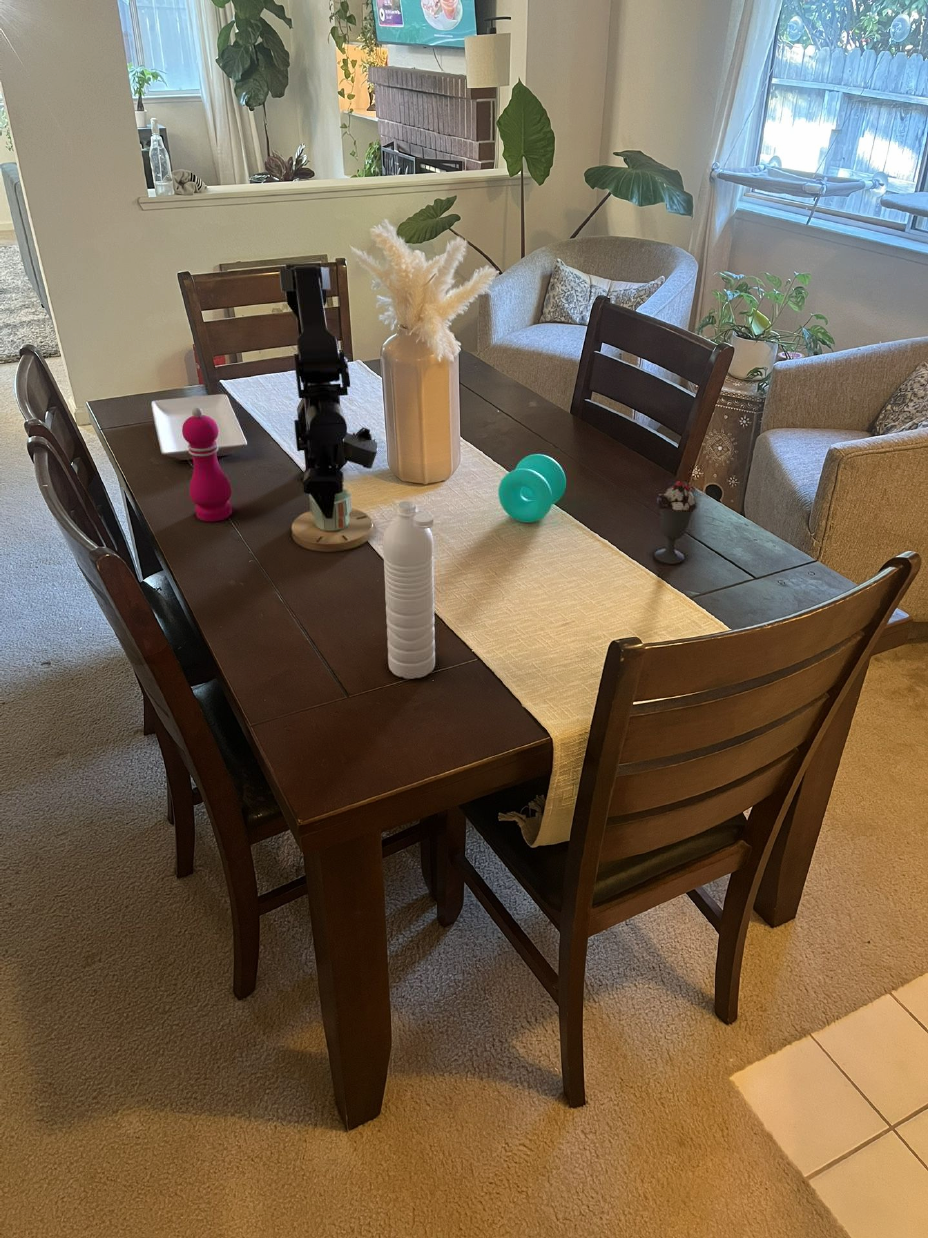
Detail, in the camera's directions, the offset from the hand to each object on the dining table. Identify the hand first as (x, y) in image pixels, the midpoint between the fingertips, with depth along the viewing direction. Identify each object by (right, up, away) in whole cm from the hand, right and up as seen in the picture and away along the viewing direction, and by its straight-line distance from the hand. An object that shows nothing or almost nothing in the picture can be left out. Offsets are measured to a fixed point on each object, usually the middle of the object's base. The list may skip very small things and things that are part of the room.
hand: (330, 508), depth 158 cm
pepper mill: (-22, 0, +8) cm, 24 cm away
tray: (-34, +20, +39) cm, 55 cm away
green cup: (0, -2, +2) cm, 3 cm away
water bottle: (+16, -26, -31) cm, 44 cm away
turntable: (0, -4, +3) cm, 4 cm away
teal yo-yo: (+35, 0, +9) cm, 36 cm away
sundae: (+57, -9, -4) cm, 58 cm away
